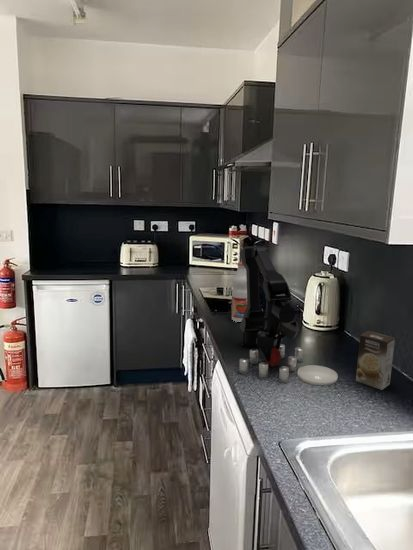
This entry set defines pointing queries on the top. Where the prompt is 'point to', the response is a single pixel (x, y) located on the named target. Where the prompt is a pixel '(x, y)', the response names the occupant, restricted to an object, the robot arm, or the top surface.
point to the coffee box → (375, 359)
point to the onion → (274, 357)
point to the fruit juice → (239, 293)
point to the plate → (317, 375)
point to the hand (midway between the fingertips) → (272, 356)
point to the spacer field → (264, 366)
